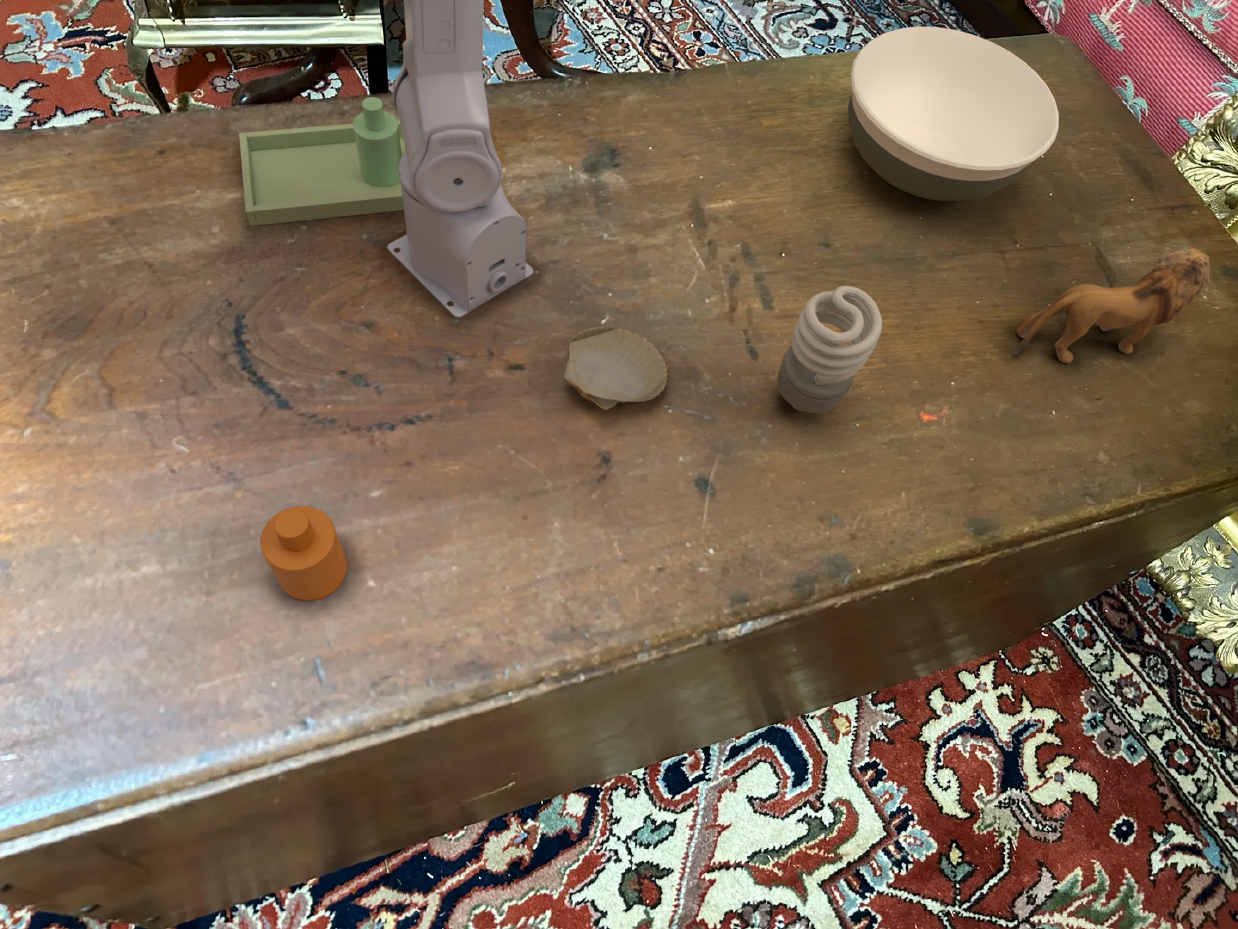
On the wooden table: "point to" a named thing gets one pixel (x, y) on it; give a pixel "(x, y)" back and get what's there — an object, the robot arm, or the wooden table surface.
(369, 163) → the green bottle
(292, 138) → the tray
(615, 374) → the seashell
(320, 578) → the amber bottle
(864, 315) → the light bulb
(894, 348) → the wooden table surface
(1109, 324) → the lion figurine
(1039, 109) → the bowl
